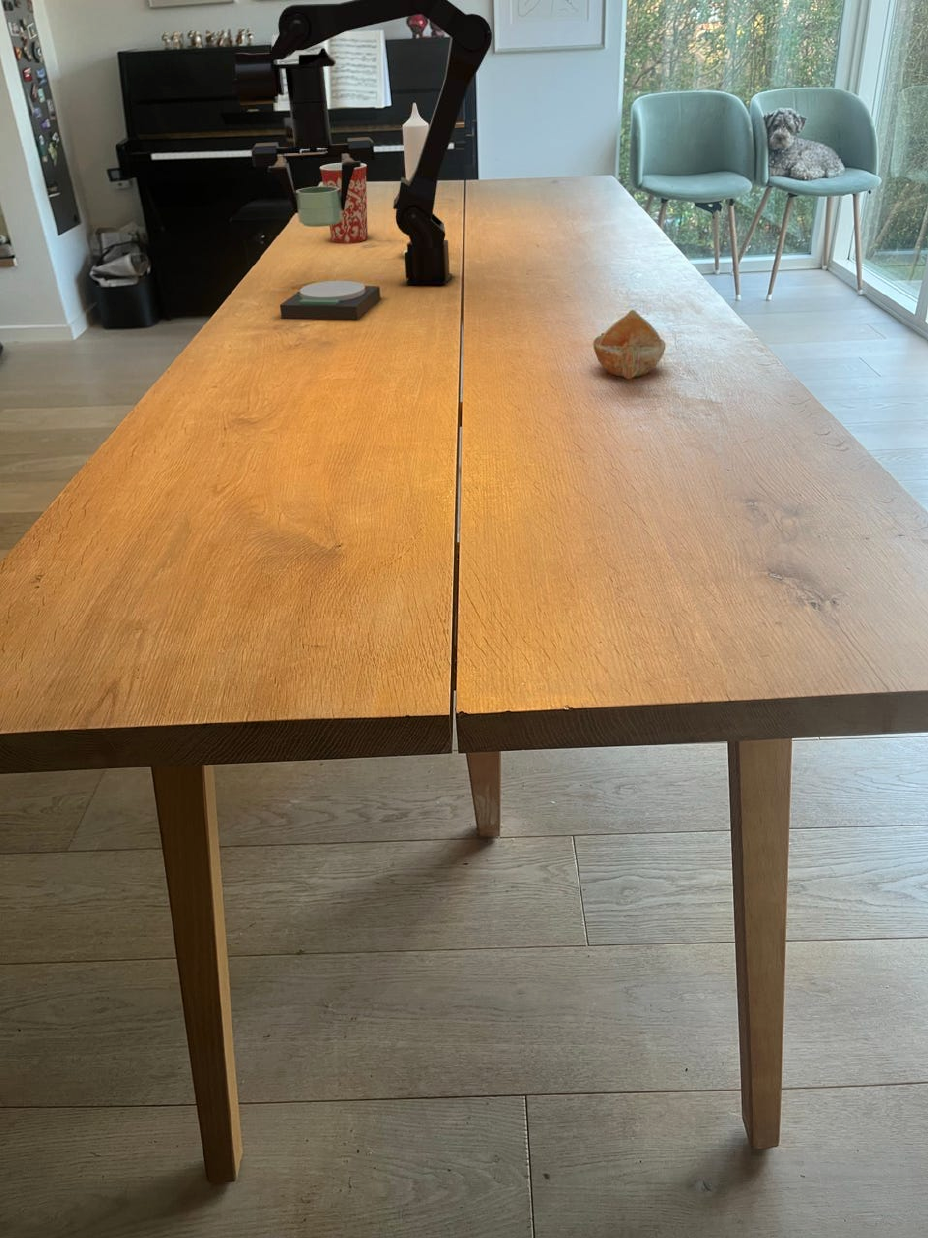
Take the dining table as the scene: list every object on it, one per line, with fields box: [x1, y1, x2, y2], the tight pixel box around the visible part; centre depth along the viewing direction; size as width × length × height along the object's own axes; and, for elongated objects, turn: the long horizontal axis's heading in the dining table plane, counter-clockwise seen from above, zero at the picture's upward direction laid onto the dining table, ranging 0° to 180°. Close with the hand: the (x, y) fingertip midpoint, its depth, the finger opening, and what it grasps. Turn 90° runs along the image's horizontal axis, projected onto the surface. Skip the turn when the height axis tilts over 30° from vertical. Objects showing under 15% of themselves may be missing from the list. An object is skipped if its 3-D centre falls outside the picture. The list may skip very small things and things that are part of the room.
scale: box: [279, 280, 381, 321], centre depth 151 cm, size 12×12×3 cm
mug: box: [319, 162, 369, 244], centre depth 195 cm, size 13×9×14 cm
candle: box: [402, 102, 430, 258], centre depth 175 cm, size 7×7×25 cm
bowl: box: [295, 185, 343, 228], centre depth 157 cm, size 7×7×5 cm
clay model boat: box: [592, 309, 667, 380], centre depth 119 cm, size 9×21×10 cm, turn 173°
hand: (320, 211), depth 158 cm, fingers closed on bowl, 7 cm apart
